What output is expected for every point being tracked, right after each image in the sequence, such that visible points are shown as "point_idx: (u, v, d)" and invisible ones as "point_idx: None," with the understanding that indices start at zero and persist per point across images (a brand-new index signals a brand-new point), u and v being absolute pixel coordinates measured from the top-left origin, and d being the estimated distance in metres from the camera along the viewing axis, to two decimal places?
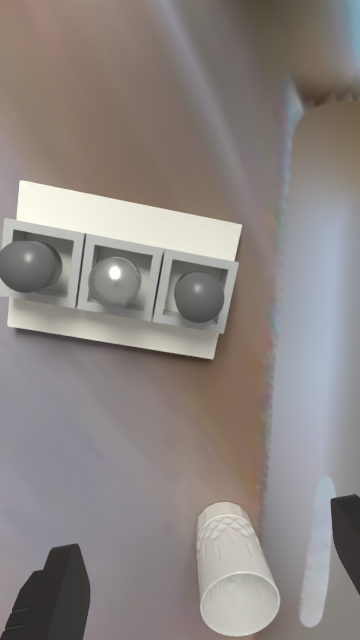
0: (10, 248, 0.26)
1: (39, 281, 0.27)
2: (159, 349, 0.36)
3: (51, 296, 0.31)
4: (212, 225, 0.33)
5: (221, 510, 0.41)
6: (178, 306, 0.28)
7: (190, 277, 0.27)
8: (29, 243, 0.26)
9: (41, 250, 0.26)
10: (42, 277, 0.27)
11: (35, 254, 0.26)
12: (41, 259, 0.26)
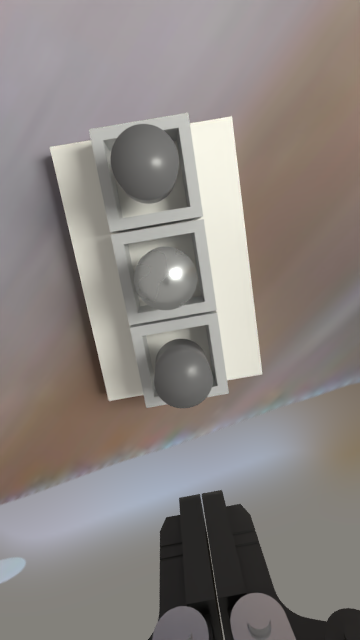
0: (162, 137, 0.20)
1: (134, 186, 0.20)
2: (96, 339, 0.29)
3: (113, 198, 0.24)
4: (251, 345, 0.30)
5: None
6: (166, 361, 0.23)
7: (203, 362, 0.23)
8: (177, 161, 0.20)
9: (174, 178, 0.20)
10: (141, 189, 0.20)
11: (166, 173, 0.20)
12: (163, 182, 0.20)
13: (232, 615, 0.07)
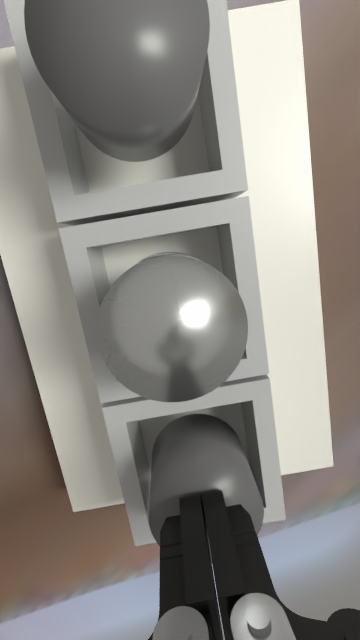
0: None
1: (92, 97, 0.08)
2: (48, 413, 0.17)
3: (62, 152, 0.12)
4: (318, 420, 0.18)
5: None
6: (172, 481, 0.11)
7: (247, 481, 0.12)
8: (205, 26, 0.07)
9: (195, 77, 0.08)
10: (109, 106, 0.08)
11: (176, 60, 0.08)
12: (167, 85, 0.08)
13: (232, 615, 0.07)
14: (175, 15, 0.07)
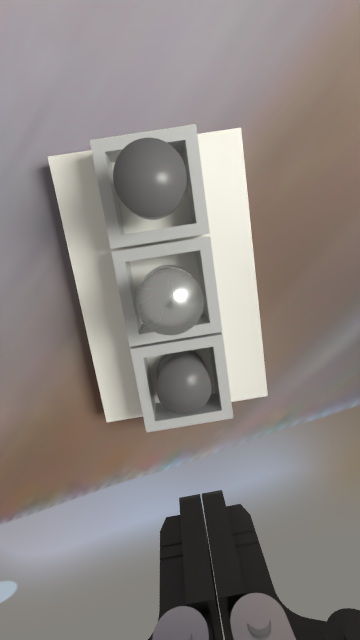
0: (169, 153, 0.18)
1: (138, 204, 0.19)
2: (94, 358, 0.28)
3: (115, 213, 0.23)
4: (257, 366, 0.29)
5: None
6: (168, 370, 0.24)
7: (203, 371, 0.25)
8: (185, 178, 0.19)
9: (180, 196, 0.19)
10: (145, 207, 0.19)
11: (173, 190, 0.19)
12: (169, 200, 0.19)
13: (232, 615, 0.07)
14: (172, 173, 0.19)
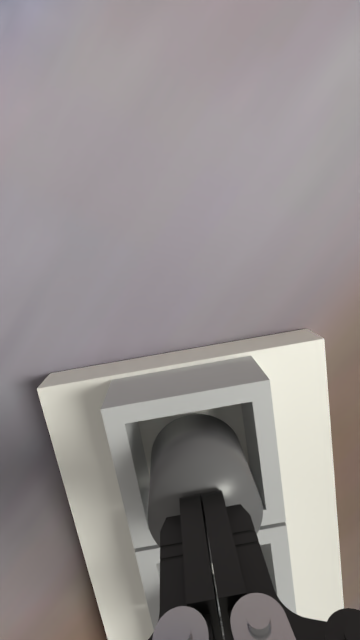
0: (237, 483, 0.12)
1: None
2: (107, 631, 0.20)
3: (141, 503, 0.15)
4: None
5: None
6: None
7: None
8: (260, 514, 0.12)
9: None
10: None
11: None
12: None
13: (232, 615, 0.07)
14: None
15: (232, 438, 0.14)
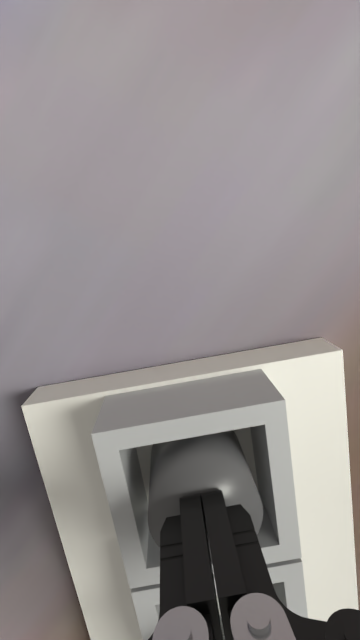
0: (237, 484, 0.12)
1: None
2: None
3: (137, 539, 0.13)
4: None
5: None
6: None
7: None
8: (260, 514, 0.12)
9: None
10: None
11: None
12: None
13: (232, 615, 0.07)
14: None
15: (232, 438, 0.14)
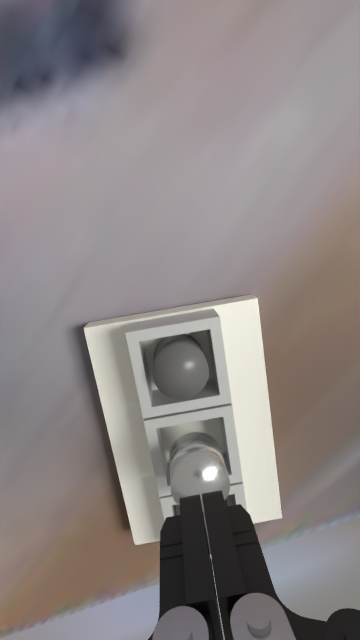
0: (196, 355, 0.24)
1: (172, 391, 0.25)
2: (124, 492, 0.31)
3: (147, 390, 0.25)
4: (272, 493, 0.31)
5: None
6: None
7: None
8: (207, 372, 0.24)
9: (204, 384, 0.25)
10: (177, 393, 0.25)
11: (198, 381, 0.24)
12: (195, 387, 0.25)
13: (232, 615, 0.07)
14: (198, 369, 0.24)
15: (196, 343, 0.26)
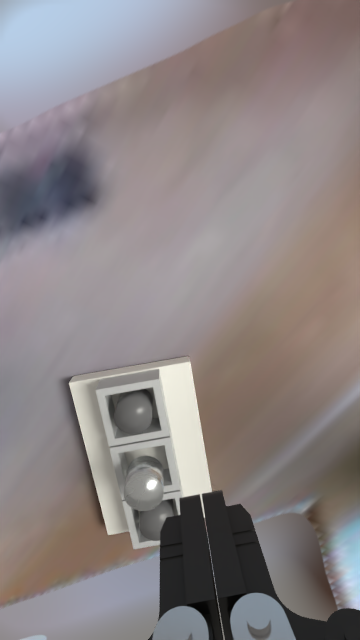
0: (142, 405, 0.36)
1: (127, 429, 0.36)
2: (99, 496, 0.42)
3: (111, 427, 0.37)
4: None
5: None
6: (146, 516, 0.39)
7: (168, 516, 0.39)
8: (151, 416, 0.36)
9: (149, 424, 0.36)
10: (130, 430, 0.36)
11: (145, 422, 0.36)
12: (143, 426, 0.36)
13: (232, 615, 0.07)
14: (144, 414, 0.36)
15: (146, 394, 0.38)
